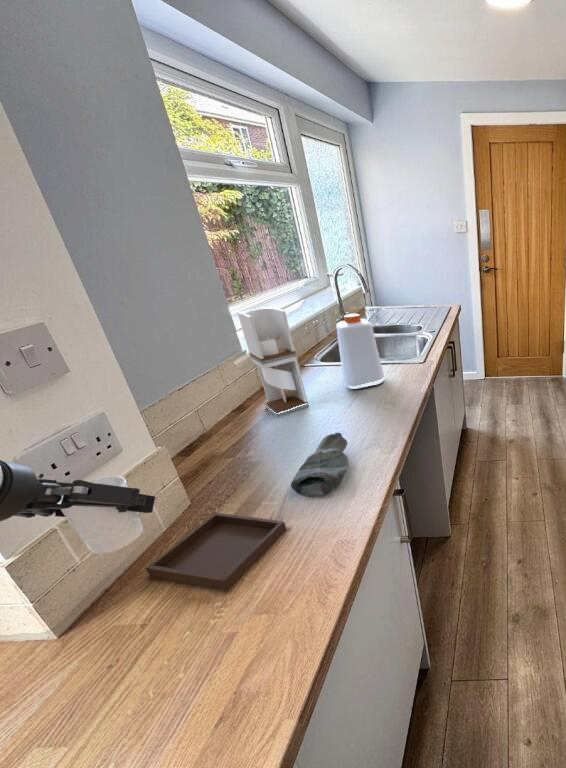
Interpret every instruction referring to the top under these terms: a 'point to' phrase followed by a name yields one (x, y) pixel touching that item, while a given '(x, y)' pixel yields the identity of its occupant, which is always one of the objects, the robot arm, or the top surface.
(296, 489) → the grey hollow crumpled part
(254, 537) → the serving tray
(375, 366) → the plastic bottle
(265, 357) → the white tiered shelf stand
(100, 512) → the white cup
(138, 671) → the top surface
